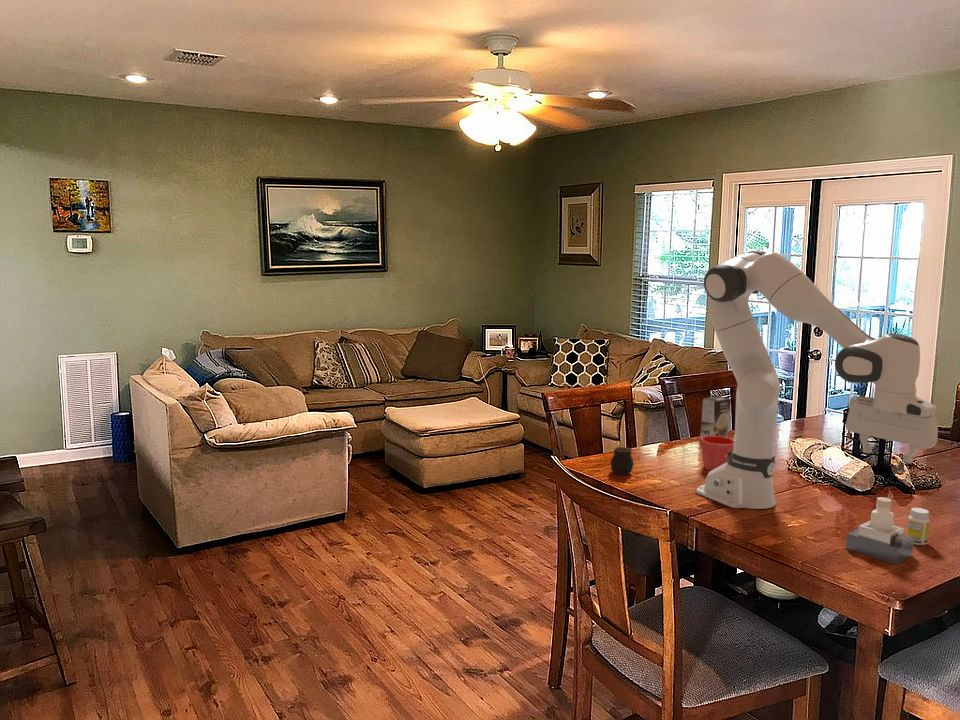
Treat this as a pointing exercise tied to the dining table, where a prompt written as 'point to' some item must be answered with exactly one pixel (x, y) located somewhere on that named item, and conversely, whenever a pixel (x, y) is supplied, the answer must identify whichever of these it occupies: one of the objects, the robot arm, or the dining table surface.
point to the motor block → (880, 543)
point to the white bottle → (882, 515)
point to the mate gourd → (622, 461)
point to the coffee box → (715, 417)
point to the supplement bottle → (918, 526)
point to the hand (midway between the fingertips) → (886, 457)
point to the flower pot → (715, 451)
